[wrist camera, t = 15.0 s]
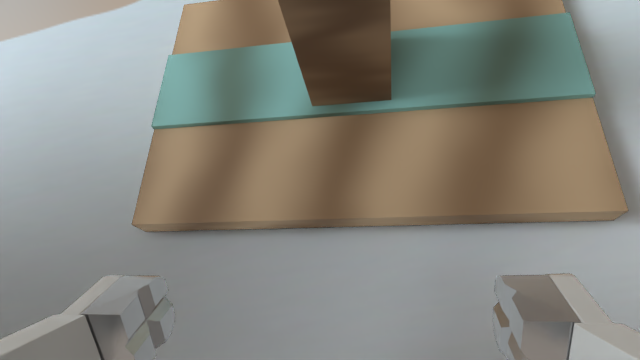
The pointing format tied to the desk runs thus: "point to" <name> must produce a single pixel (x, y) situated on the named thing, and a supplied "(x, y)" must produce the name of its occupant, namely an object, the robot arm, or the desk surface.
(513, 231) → the desk surface
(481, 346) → the desk surface
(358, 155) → the tan flat board
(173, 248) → the desk surface
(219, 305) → the desk surface
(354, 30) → the walnut post
